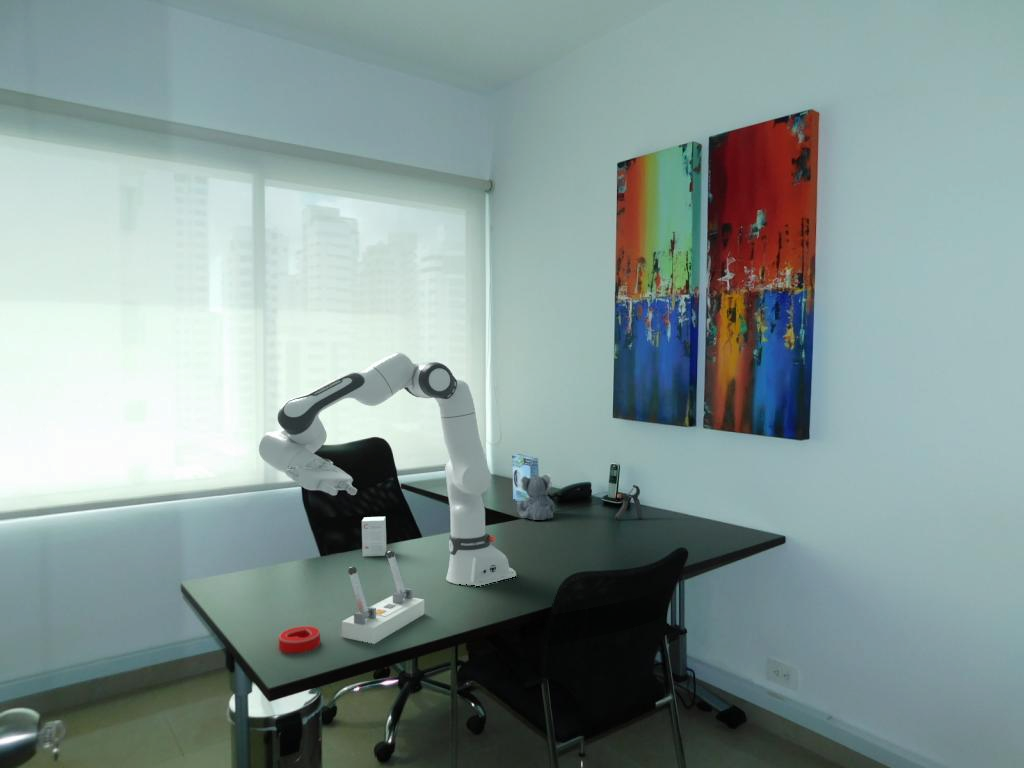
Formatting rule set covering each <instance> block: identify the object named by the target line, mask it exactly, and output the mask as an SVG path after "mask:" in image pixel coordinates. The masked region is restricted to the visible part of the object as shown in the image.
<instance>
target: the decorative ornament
mask: <svg viewBox="0 0 1024 768" xmlns="http://www.w3.org/2000/svg"><path fill="white" fill-rule="evenodd" d="M319 644H320V645H321V631H320V630H319V628H316V627H314V626H296V627H292V628H289V629H285V630H283V632H281V633H280V634H279V636H278V649H279V651H280V652H281V651H282V652H281V653H284V652H285V653H284V654H290V653H297V654H302V653H301V652H304V653H306V652H305V651H308V652H310V651H309V650H311V651H313V650H315V649H317V648H318V647H319V646H320V645H319ZM316 647H317V648H316ZM314 648H315V649H314ZM312 649H313V650H312Z"/></svg>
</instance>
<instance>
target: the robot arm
mask: <svg viewBox="0 0 1024 768" xmlns="http://www.w3.org/2000/svg"><path fill="white" fill-rule="evenodd" d="M403 389H404V390H405V391H406V392H408V393H409V394H411V396H414V397H416V398H421V399H431V398H432V399H435V401H436V403H437V404H438V407H439V413H440V420H441V427H442V433H443V440H444V445H445V446H446V448H447V451H448V455H449V459H448V461H447V462H446V464H445V468H444V473H445V479H446V480H445V481H446V488H447V489H446V491H447V496H448V497H447V498H448V504H449V511H450V512H449V513H450V518H449V519H450V534H449V535H448V536H449V538H448V539H449V541H448V550H449V553H450V555H449V563H448V570H447V574H446V577H445V580H446V581H447V582H448V583H452V584H454V585H459V584H461V585H462V586H471V585H475V586H474V587H476V586H480V587H482V586H481V585H484V586H486V585H485V584H488V585H490V584H489V583H492V582H496V583H498V582H497V581H500V580H503V579H508V578H512V577H515V576H516V577H517V572H516V570H514V569H513V568H511V567H510V565H509V564H510V563H509V560H508V557H507V556H506V555H505V554H504V553H503V552H502V551H500V550H499V549H498V548H497V547H496V546H494V545H492V544H491V543H495V542H497V537H496V536H494V535H492V534H488V533H487V532H486V509H485V506H484V501H483V496H482V494H483V493H484V492H486V491H487V490H488V489H489V488H490V485H491V483H492V474H491V470H490V469H489V465H488V462H487V459H486V454H485V452H484V451H485V450H484V448H483V446H482V442H481V438H480V434H479V427H478V421H477V413H476V408H475V402H474V399H473V396H472V393H471V390H470V387H469V384H468V383H467V382H466V381H465V380H461V379H456V378H455V376H454V375H453V373H452V371H451V370H450V369H449V367H448V366H446V365H445V364H443V363H441V362H435V361H433V362H431V361H429V362H427V361H425V362H422V363H413V361H412V360H411V358H410V357H409V356H407V355H406V354H405V353H402V352H395V353H392V354H390V355H387V356H384V357H383V358H382V359H379V360H378V361H376V362H374V363H373V364H371V365H369V366H368V367H366V368H365V369H362V370H360V371H358V372H348V373H346V374H344V375H340V376H339V377H337V378H335V379H333V380H331V381H329V382H327V383H325V384H323V385H322V386H319V387H318V388H316V389H314V390H312V391H310V392H308V393H305V394H303V395H300V396H295V397H292V398H290V399H289V400H287V401H286V402H284V403H283V404H282V406H281V407H280V408H279V410H278V411H277V412H278V413H277V422H278V424H279V425H280V426H279V427H281V428H282V429H281V430H277V431H269V432H266V434H265V435H263V437H262V438H261V440H260V442H259V445H258V453H259V455H260V457H261V458H262V460H263V461H264V462H265V463H266V464H268V465H270V466H271V467H272V468H274V469H275V470H277V471H279V472H281V473H285V475H286V477H288V478H289V479H291V480H293V481H294V482H295V483H297V484H298V485H299V486H300V487H302V488H304V489H305V490H308V491H321V492H324V493H327V494H329V495H331V496H337V495H338V493H339V491H346V492H347V494H349V495H350V496H355V495H356V494H357V492H358V489H357V488H356V487H354V486H353V485H352V483H353V481H354V479H353V477H352V476H351V475H350V474H349V473H347V472H346V471H344V470H343V469H341V467H337V466H336V465H334V462H333V461H331V460H330V459H328V458H324V457H321V456H319V455H318V454H315V453H317V452H318V451H319V450H320V449H321V448H322V447H323V445H325V443H326V440H327V434H328V433H327V431H326V430H325V426H324V424H323V422H322V420H321V419H320V416H319V415H320V414H321V412H322V411H324V410H326V409H328V408H330V407H331V406H333V405H335V404H337V403H339V402H340V401H343V400H345V399H354V400H355V401H357V402H359V403H361V404H363V405H364V406H365V405H366V406H370V407H376V406H379V405H380V404H383V403H384V402H386V401H387V400H388V399H390V398H391V397H392V396H395V394H396V393H398V392H399V391H402V390H403ZM466 584H467V585H466ZM492 584H493V583H492Z"/></svg>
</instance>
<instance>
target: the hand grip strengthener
mask: <svg viewBox="0 0 1024 768" xmlns="http://www.w3.org/2000/svg"><path fill="white" fill-rule="evenodd" d="M634 489H635V490H636V491H635V493H634V494H631V493H632V492H633V491H634ZM640 489H641V488H640V487H639V486H638V485H635V484H633V485H632V487H631V488H630V489H629V491H628V492H627V493H626V494H622V493H617V495H616V497H617V498H618V499H622V500H623V502H622V505H621V507H620V509H619V510H618V512H617V513H616V514H615V516H614V518H615V519H616V520H619V519H620V518H621V517H622V516H623V515H624V514H625V512H626V509H627V508H628V505H629V501H630V499H633V503H634V507H635V511H636V516H637V517H636V518H637V520H642V519H643V509H642V505H641V502H640V499H639V498H638V497H639V495H640V493H641V490H640Z"/></svg>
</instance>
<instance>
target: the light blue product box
mask: <svg viewBox="0 0 1024 768" xmlns="http://www.w3.org/2000/svg"><path fill="white" fill-rule="evenodd" d="M511 458H512V461H511V463H512V465H511V466H512V499H513V500H514V499H515V500H514V501H516V502H518V501H519V500H523V501H525V499H526V498H527V497H529V496H528V495H527V492H526V491H523V489H522V488H521V487H520V481H519V478H520V477H522V476H523V477H524V476H525V477H527V478H530V477H532V476H539V475H540V474H539V471H540V470H539V458H537V457H533V456H529V455H524V454H520V453H519V454H512V455H511Z"/></svg>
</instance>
